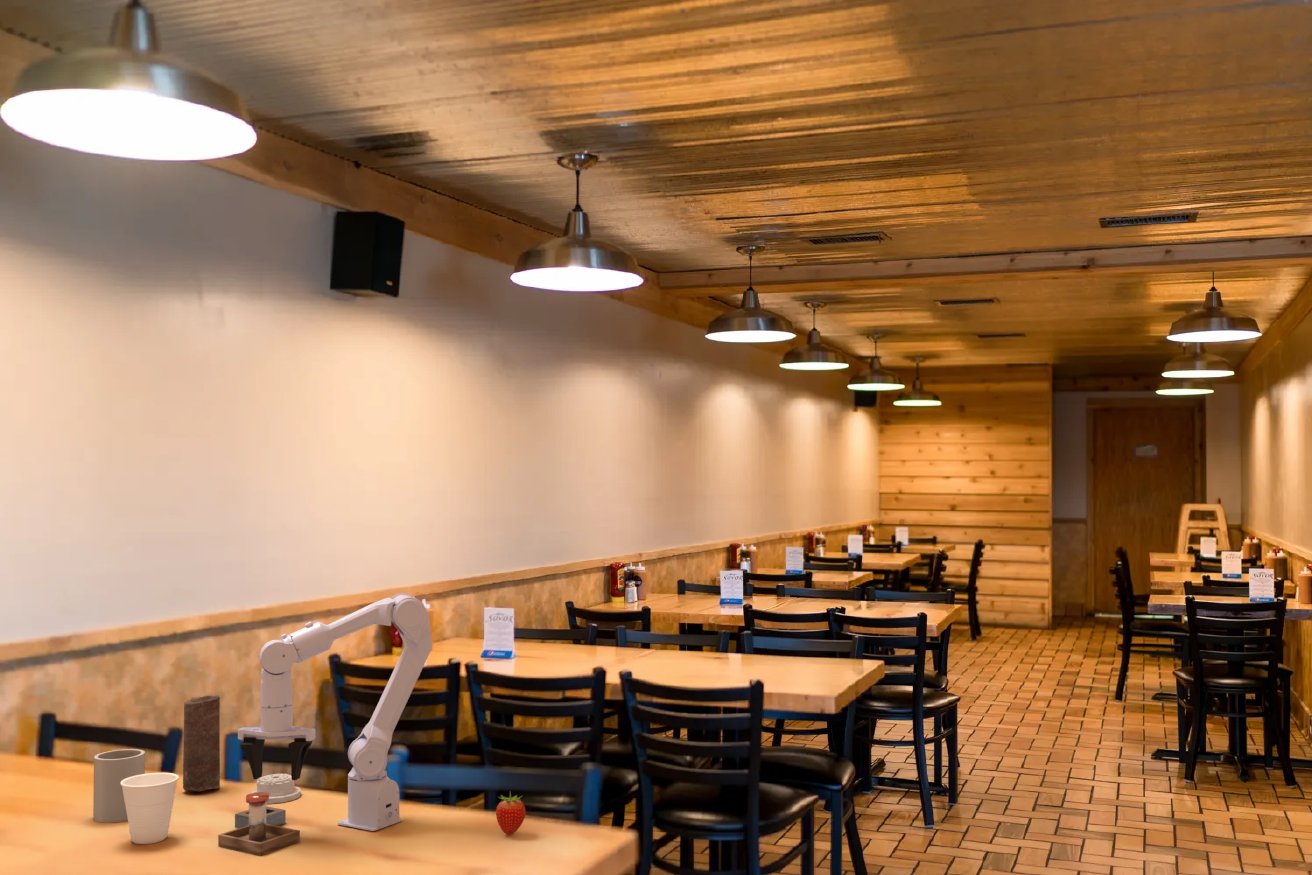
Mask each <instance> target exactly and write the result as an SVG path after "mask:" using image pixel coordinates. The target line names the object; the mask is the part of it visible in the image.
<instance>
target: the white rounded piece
mask: <svg viewBox="0 0 1312 875" xmlns="http://www.w3.org/2000/svg"><path fill="white" fill-rule="evenodd" d="M295 783H296V780H292V777H291V774H288V773H274V774H267V775H264V776H263V775H262V777H260V778H258V779H256V789H255V790H253V791H251V792H250V794H251V793H256V792H267V793H269V801H267V802H266V805H267V804H269V805H270V804H280V803H287V802H292V801H294V800H297V799H298V798H300V797H301V794H302V790H301V788H300V787H298V786H295V785H296V784H295Z"/></svg>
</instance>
